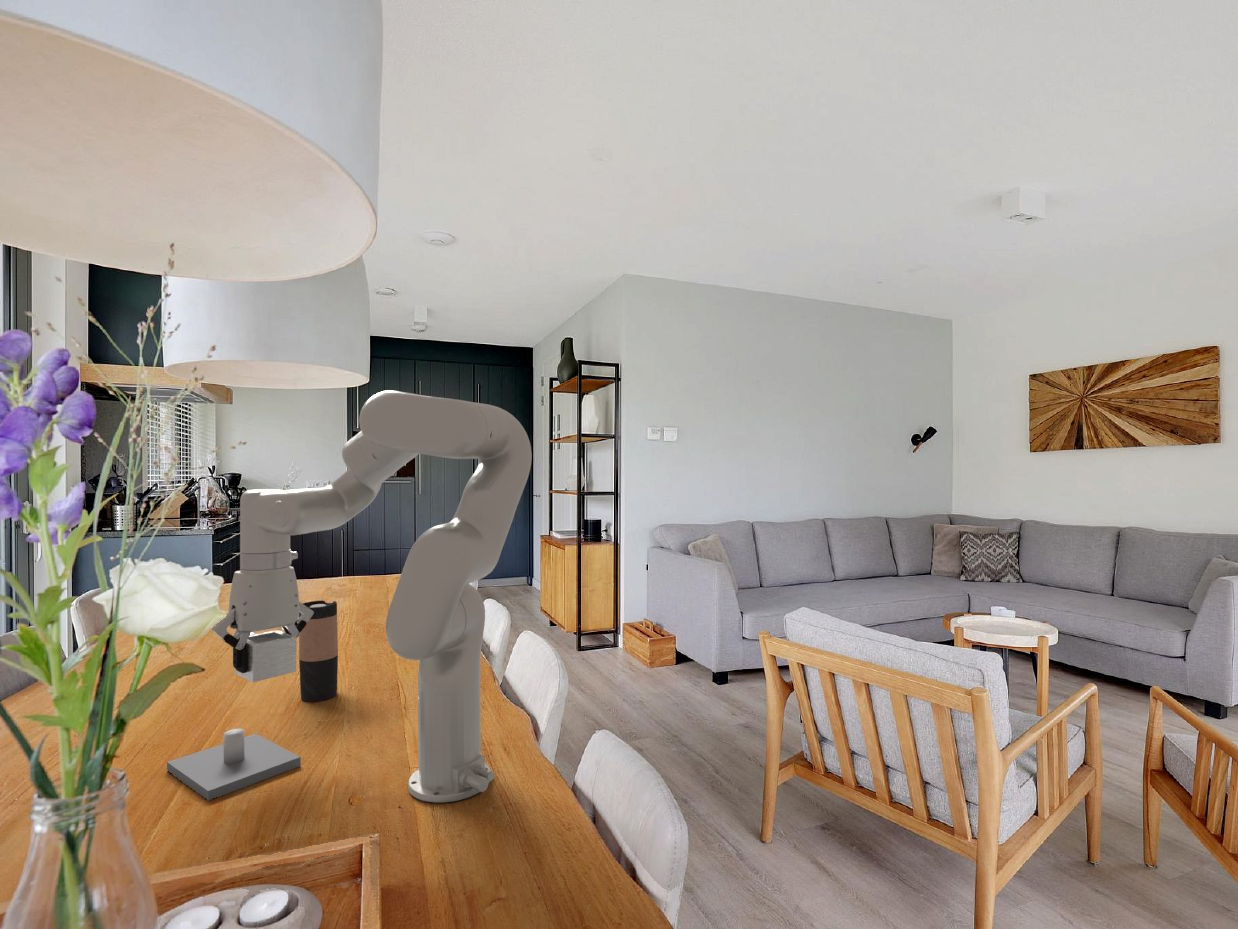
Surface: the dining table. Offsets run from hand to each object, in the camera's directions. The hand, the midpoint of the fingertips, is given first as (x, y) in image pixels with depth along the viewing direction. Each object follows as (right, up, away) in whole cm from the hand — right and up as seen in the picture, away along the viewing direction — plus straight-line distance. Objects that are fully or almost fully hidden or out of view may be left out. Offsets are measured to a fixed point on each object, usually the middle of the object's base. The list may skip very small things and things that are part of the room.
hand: (265, 665), depth 112 cm
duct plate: (-3, -16, -3) cm, 17 cm away
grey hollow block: (-2, -1, +2) cm, 3 cm away
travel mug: (-5, -16, +30) cm, 34 cm away
